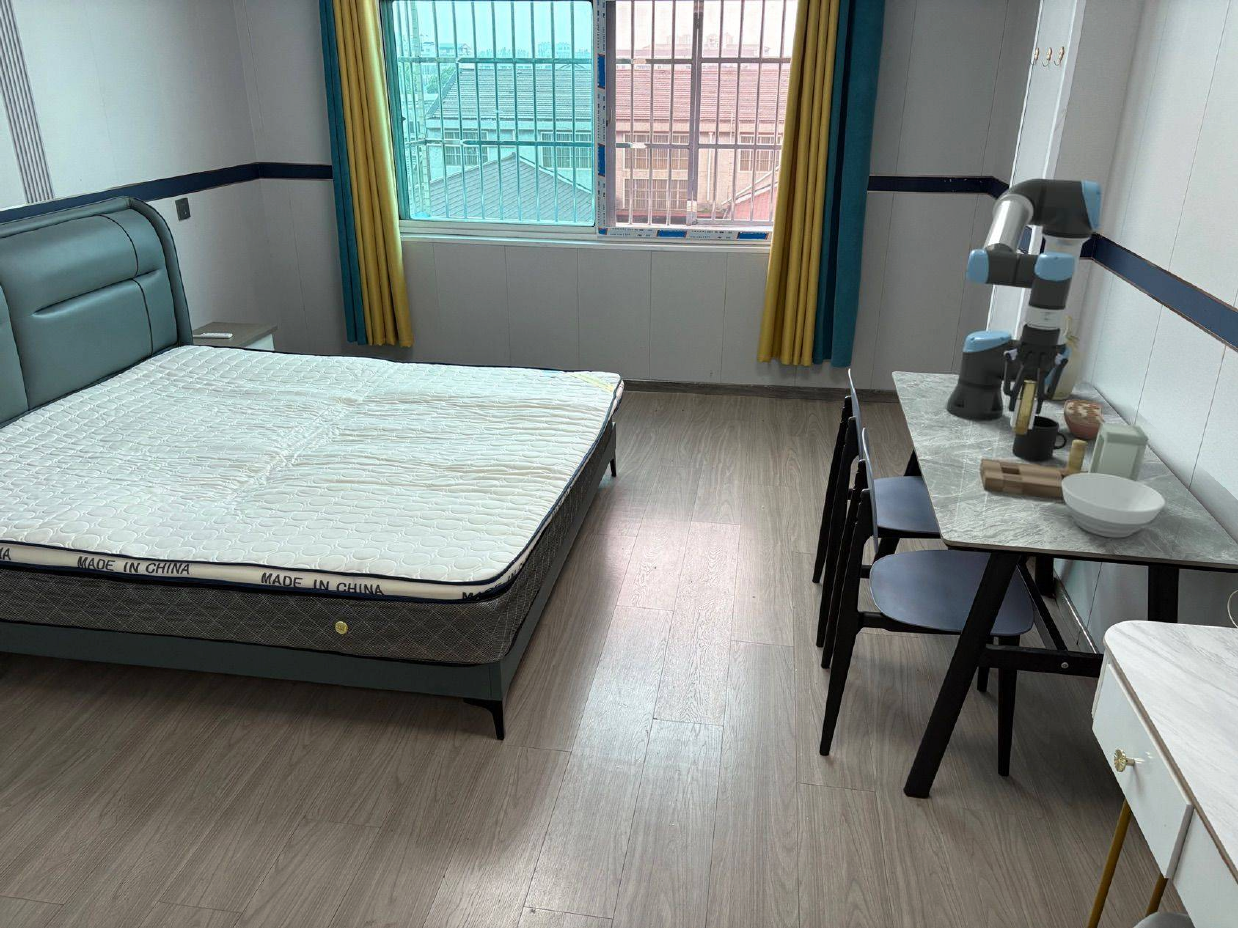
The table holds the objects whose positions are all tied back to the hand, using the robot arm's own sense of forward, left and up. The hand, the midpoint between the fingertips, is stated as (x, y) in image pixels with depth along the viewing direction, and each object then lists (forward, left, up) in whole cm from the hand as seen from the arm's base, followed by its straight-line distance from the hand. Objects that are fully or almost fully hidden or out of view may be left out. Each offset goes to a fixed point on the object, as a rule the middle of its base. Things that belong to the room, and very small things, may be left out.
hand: (1020, 425), depth 206 cm
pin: (0, 0, -2) cm, 2 cm away
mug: (-21, +9, -15) cm, 27 cm away
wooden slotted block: (0, +9, -14) cm, 17 cm away
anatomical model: (-47, +23, -15) cm, 54 cm away
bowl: (+18, +17, -15) cm, 29 cm away
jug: (-77, +19, -15) cm, 81 cm away
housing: (0, +21, -11) cm, 24 cm away
